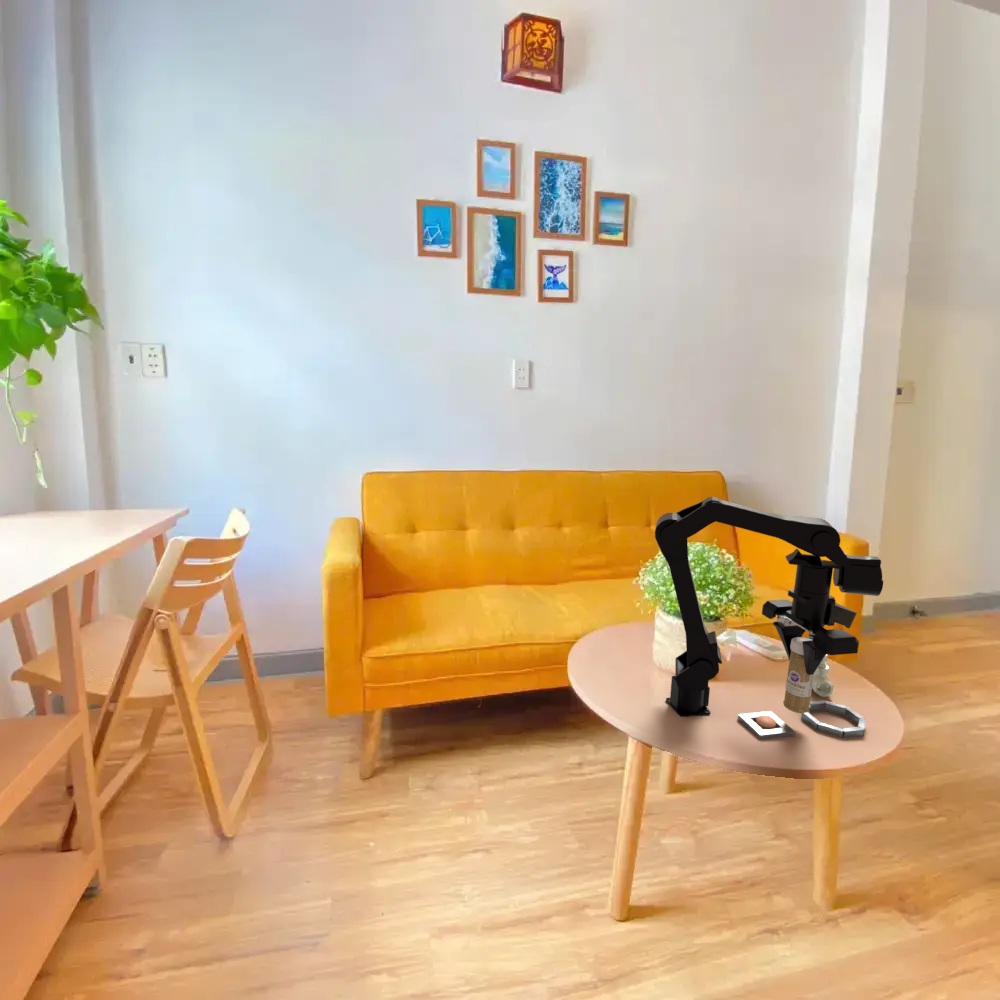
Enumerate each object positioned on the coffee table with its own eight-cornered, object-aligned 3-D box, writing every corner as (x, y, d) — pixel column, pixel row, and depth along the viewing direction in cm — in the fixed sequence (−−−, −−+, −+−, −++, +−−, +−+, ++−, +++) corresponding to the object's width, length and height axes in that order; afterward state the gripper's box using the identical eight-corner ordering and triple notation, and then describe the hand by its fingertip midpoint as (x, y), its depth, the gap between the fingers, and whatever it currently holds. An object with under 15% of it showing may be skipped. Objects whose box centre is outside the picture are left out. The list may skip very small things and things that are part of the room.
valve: (806, 696, 125) (812, 643, 123) (797, 681, 132) (803, 630, 129) (840, 700, 124) (847, 646, 122) (829, 684, 130) (836, 633, 128)
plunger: (762, 737, 110) (763, 726, 110) (751, 727, 114) (752, 716, 113) (778, 735, 111) (780, 724, 110) (767, 725, 114) (768, 714, 114)
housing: (759, 745, 108) (760, 735, 108) (737, 723, 115) (738, 714, 115) (793, 741, 110) (795, 731, 109) (769, 720, 116) (770, 710, 116)
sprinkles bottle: (779, 707, 112) (788, 641, 110) (787, 698, 116) (795, 633, 113) (805, 717, 110) (815, 649, 107) (812, 707, 113) (822, 641, 110)
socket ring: (828, 743, 109) (829, 733, 109) (790, 712, 119) (791, 703, 119) (877, 737, 111) (878, 727, 111) (836, 707, 121) (837, 698, 121)
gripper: (892, 605, 101) (878, 690, 104) (814, 570, 118) (805, 643, 122) (834, 609, 98) (822, 695, 102) (764, 573, 116) (756, 647, 119)
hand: (801, 668), depth 111 cm, fingers closed on sprinkles bottle, 4 cm apart
